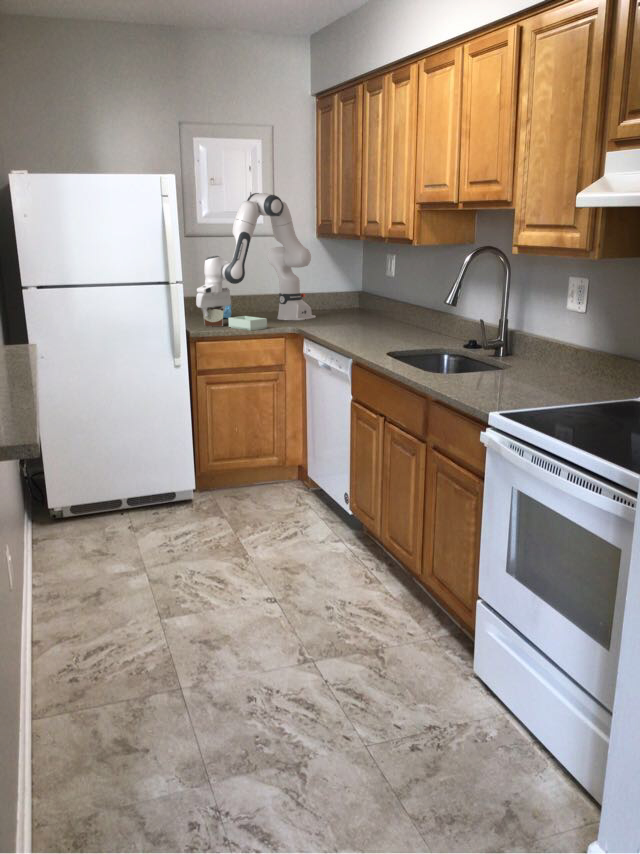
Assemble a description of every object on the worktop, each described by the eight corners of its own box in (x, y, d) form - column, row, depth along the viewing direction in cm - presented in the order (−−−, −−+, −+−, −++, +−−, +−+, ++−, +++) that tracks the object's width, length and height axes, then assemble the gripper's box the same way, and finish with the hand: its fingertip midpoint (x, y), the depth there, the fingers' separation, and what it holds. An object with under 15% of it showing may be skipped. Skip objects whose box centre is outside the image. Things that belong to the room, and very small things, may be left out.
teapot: (238, 320, 421) (238, 301, 418) (215, 321, 414) (214, 303, 411) (224, 316, 436) (223, 298, 433) (201, 318, 428) (200, 300, 426)
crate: (245, 325, 398) (245, 315, 397) (267, 328, 387) (266, 318, 386) (228, 327, 391) (228, 317, 390) (250, 330, 379) (250, 320, 378)
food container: (228, 325, 400) (227, 305, 397) (225, 326, 394) (224, 307, 391) (204, 325, 401) (204, 305, 399) (202, 326, 395) (201, 307, 393)
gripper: (225, 287, 402) (226, 313, 405) (193, 289, 387) (195, 316, 391) (233, 287, 397) (233, 314, 401) (201, 289, 383) (202, 317, 387)
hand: (214, 315), depth 396 cm, fingers open, 8 cm apart
